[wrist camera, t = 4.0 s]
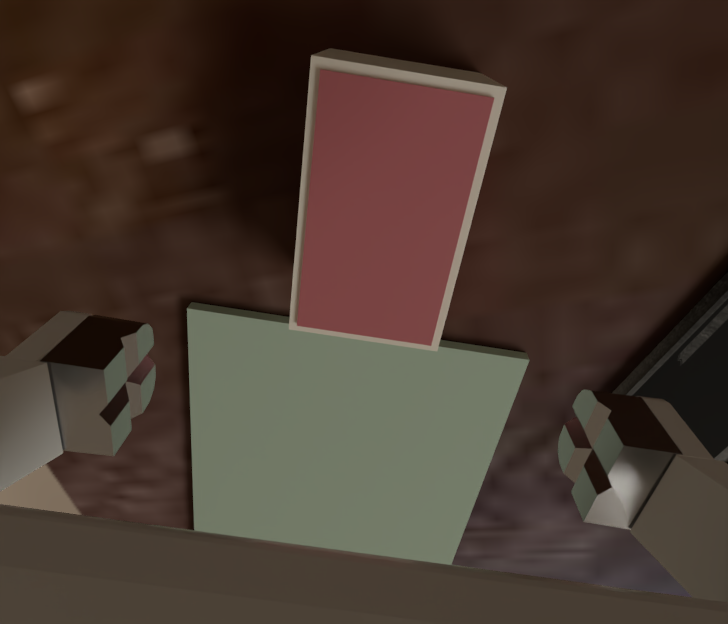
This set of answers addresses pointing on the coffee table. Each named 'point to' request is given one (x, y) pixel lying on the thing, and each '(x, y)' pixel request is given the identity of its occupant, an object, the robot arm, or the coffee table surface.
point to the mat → (340, 434)
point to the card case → (387, 194)
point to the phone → (692, 371)
